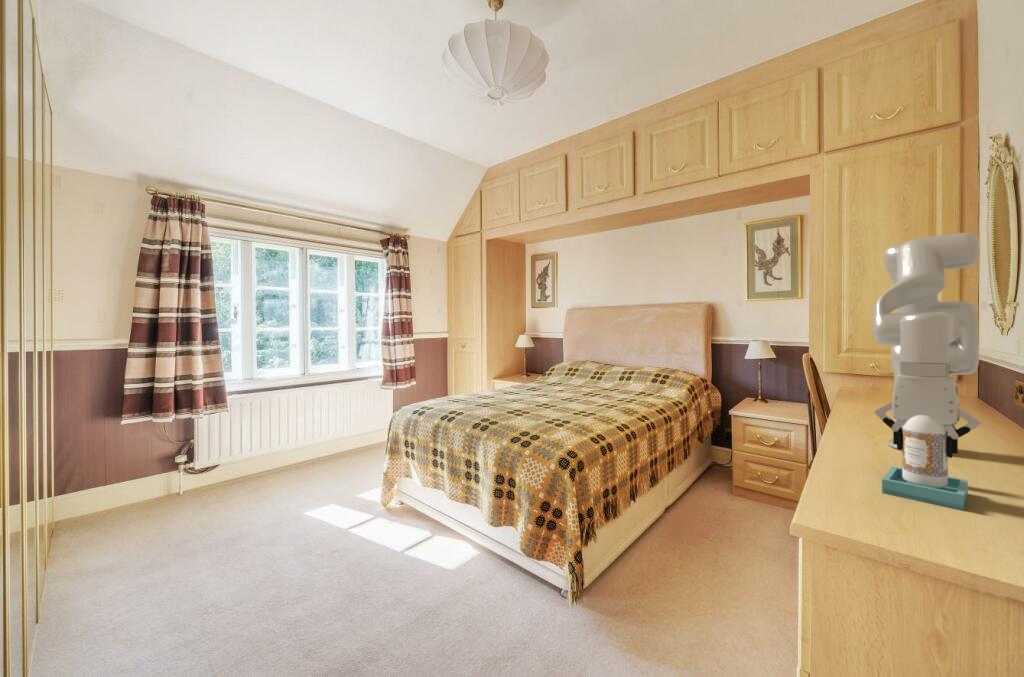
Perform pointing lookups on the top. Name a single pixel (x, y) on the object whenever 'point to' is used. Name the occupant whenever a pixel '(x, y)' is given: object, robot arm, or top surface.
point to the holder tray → (926, 490)
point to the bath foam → (924, 452)
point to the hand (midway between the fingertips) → (924, 451)
